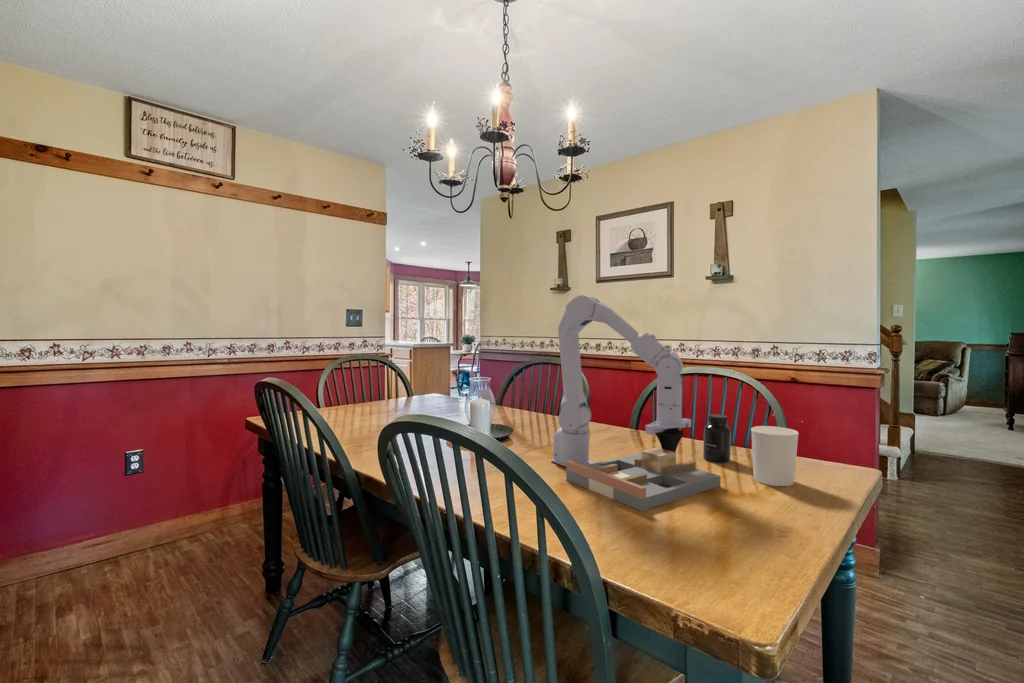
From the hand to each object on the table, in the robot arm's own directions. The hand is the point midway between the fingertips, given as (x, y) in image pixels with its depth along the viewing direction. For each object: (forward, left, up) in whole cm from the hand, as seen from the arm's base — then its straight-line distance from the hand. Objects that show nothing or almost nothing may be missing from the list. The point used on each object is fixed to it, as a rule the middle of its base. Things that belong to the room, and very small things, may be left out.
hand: (668, 459), depth 117 cm
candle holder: (+16, +17, -4) cm, 24 cm away
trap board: (0, -10, -4) cm, 10 cm away
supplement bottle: (-2, +22, -4) cm, 23 cm away
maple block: (0, -4, -1) cm, 4 cm away
